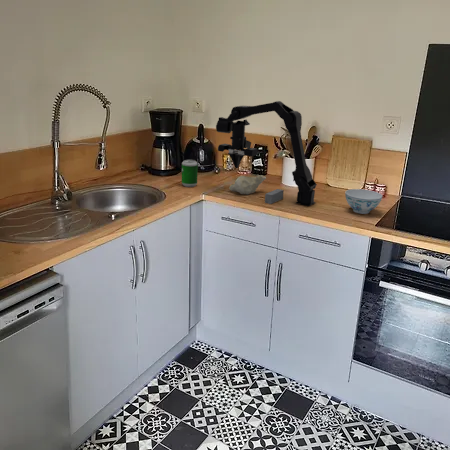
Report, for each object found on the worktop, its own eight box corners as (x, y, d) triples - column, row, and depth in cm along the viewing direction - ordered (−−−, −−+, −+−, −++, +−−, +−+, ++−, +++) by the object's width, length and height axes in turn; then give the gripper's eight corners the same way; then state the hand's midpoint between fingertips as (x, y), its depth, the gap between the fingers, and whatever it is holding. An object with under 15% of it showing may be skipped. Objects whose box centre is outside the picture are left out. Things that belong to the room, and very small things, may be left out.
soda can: (200, 185, 224) (200, 160, 219) (191, 188, 217) (191, 163, 213) (187, 182, 227) (188, 158, 223) (178, 185, 221) (178, 161, 217)
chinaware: (335, 207, 198) (338, 190, 196) (364, 204, 204) (366, 188, 201) (357, 218, 185) (360, 200, 183) (387, 215, 191) (390, 197, 188)
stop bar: (282, 198, 207) (283, 190, 206) (270, 204, 199) (271, 195, 198) (277, 197, 209) (277, 188, 208) (264, 202, 200) (265, 193, 199)
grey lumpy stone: (227, 199, 209) (252, 183, 201) (222, 185, 212) (246, 169, 204) (247, 203, 221) (271, 188, 213) (242, 190, 224) (266, 174, 216)
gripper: (265, 135, 209) (262, 168, 215) (231, 130, 219) (230, 162, 225) (252, 137, 201) (250, 172, 206) (217, 132, 211) (216, 166, 216)
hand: (236, 168), depth 213 cm, fingers closed
